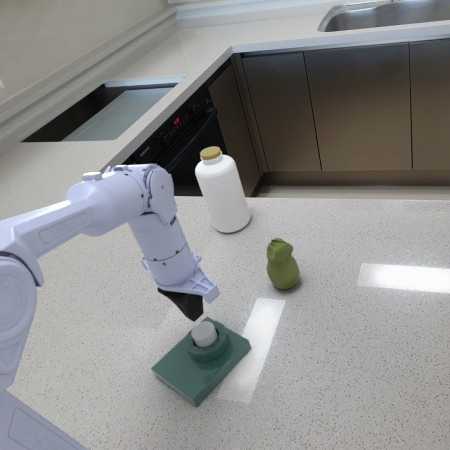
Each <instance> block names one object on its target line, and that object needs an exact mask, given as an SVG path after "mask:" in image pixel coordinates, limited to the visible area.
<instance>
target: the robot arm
mask: <svg viewBox="0 0 450 450" xmlns="http://www.w3.org/2000/svg"><path fill="white" fill-rule="evenodd" d="M81 178H82V181H80V182H77V183H75V184H73V185H72V186H70V187H68V189H67V191H66V193H65V194H64V197H63V201H60V202H57V203H53V204H50V205H47V206H43V207H41V208H38V209H33V210H31V211H27V212H24V213H20V214H18V215H14V216H11V217H8V218H4V219H1V220H0V450H90V449H89V448H87V446H85V445H83V444H82V443H81V442H79V441H78V440H76V439H75V438H74V437H72V436H71V435H69V433H67V432H65V431H64V430H63V429H61V428H60V427H58V426H57V425H56V424H54V423H52V422H51V421H50V420H49V419H47V418H46V417H45V416H43V415H42V414H40V413H39V412H38V411H36V410H34V409H33V408H31V407H30V406H29V405H28V404H27V403H25V402H23V400H21V399H19V398H18V397H17V396H15V395H14V394H12V392H10V391H8V390H7V389H9V388H10V387H11V386H12V385H13V384H14V382H15V379H16V375H17V372H18V369H19V366H20V363H21V359H22V357H23V353H24V349H25V346H26V344H27V340H28V336H29V333H30V330H31V327H32V324H33V320H34V317H35V313H36V309H37V302H38V291H37V288H43V286H44V285H45V278H44V274H43V271H42V269H41V266H40V263H39V262H38V259H40V258H41V257H42V256H45V255H46V254H48V253H50V252H52V251H53V250H55V249H57V248H58V247H60V246H61V245H64V244H65V243H67V242H69V241H71V240H72V239H74V238H75V237H77V236H79V235H80V234H82V235H84V236H86V237H87V236H88V237H102V236H103V235H106V234H108V233H109V232H112V231H113V230H115V229H117V228H119V227H121V226H123V225H125V224H126V223H127V224H128V227H129V229H130V231H131V232H132V234H133V237H134V238H135V240H136V242H137V244H138V247H139V249H140V251H141V253H142V255H143V256H141V257H140V258H139V261H140V263H141V265H142V267H143V269H144V270H146V271H148V272H149V274H150V276H151V278H152V279H153V281H154V283H155V285H156V286H157V293H159V294H161V295H163V296H164V297H166V298H167V299H169V300H170V301H171V302H172V303H173V304H174V305H175V306H176V307H177V308H178V310H179V311H180V312H181V313H182V314H183V315H184V316H185V317H186V318H187V319H188V320H189V321H191V322H194V323H195V322H196V321H197V320H198V319H199V318H201V317H202V316H203V315H204V314H205V313H204V311H205V310H204V302H205V303H207V304H208V305H211V304H212V303H213V302H214V301H216V300H217V298H218V297H220V296H221V293H220V289H219V286H218V284H216V282H214V281H212V280H211V279H210V278H209V276H208V275H207V273H206V272H205V271H204V270H203V268H202V266H201V265H200V264H199V263H201V262H202V260H203V258H202V256H201V254H199V253H196V252H194V251H193V252H192V251H191V248H190V246H189V243H188V241H187V238H186V236H185V232H184V230H183V228H182V225H181V224H180V222H179V221H180V220H179V219H178V216H177V212H178V208H177V207H178V204H177V202H176V199H175V187H174V181H173V176H172V174H171V173H168V171H167V170H166V169H165V168H163V167H161V166H160V165H158V164H157V163H142V164H128V165H127V164H118V165H115V166H111V165H109V166H108V167H106V168H105V170H104V172H103V173H102V171H94V172H87V173H84V174H82V175H81Z"/></svg>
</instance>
